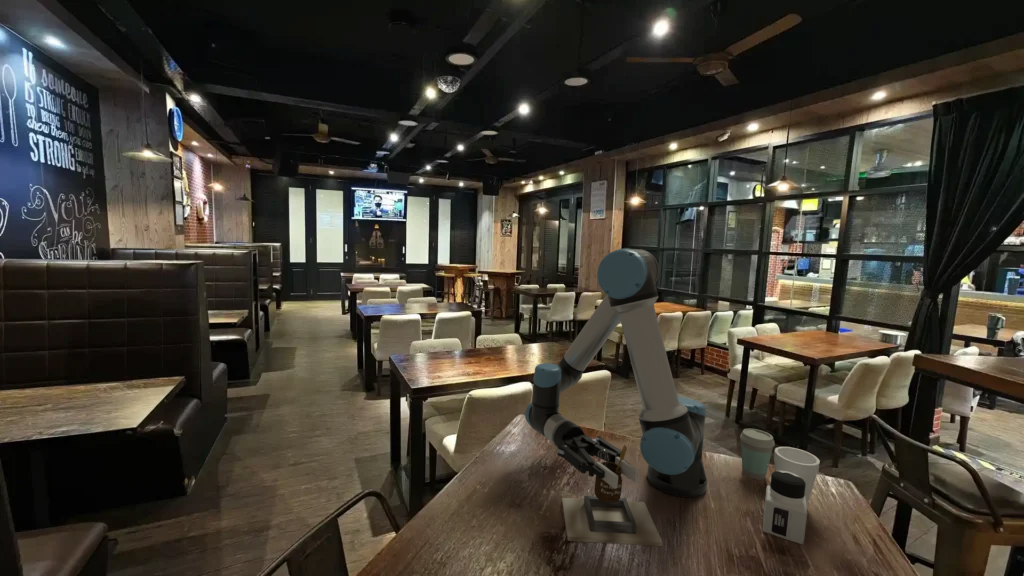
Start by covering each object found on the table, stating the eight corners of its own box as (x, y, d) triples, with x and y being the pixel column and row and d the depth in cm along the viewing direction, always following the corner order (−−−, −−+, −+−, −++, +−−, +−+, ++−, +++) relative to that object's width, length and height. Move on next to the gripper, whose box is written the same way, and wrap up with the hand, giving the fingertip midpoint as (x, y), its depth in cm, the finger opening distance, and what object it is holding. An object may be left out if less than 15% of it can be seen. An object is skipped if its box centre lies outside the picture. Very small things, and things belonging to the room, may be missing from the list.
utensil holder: (590, 488, 100) (595, 440, 99) (616, 488, 101) (621, 440, 100) (598, 504, 95) (603, 452, 93) (625, 503, 95) (630, 452, 94)
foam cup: (809, 500, 110) (815, 452, 109) (817, 520, 102) (824, 469, 100) (767, 490, 114) (772, 443, 113) (771, 509, 106) (777, 459, 104)
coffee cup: (776, 484, 117) (780, 442, 116) (742, 480, 118) (746, 438, 117) (764, 468, 125) (768, 429, 124) (732, 464, 127) (736, 426, 126)
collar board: (643, 505, 105) (644, 494, 105) (661, 546, 91) (662, 532, 91) (562, 501, 105) (562, 490, 105) (567, 540, 92) (568, 527, 91)
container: (803, 545, 93) (810, 489, 91) (762, 532, 97) (768, 477, 95) (802, 526, 99) (808, 473, 98) (763, 514, 103) (769, 463, 102)
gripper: (590, 441, 117) (655, 486, 97) (534, 454, 109) (592, 506, 89) (592, 415, 117) (658, 454, 96) (535, 426, 108) (594, 471, 88)
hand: (626, 479), depth 92 cm, fingers closed on utensil holder, 5 cm apart
